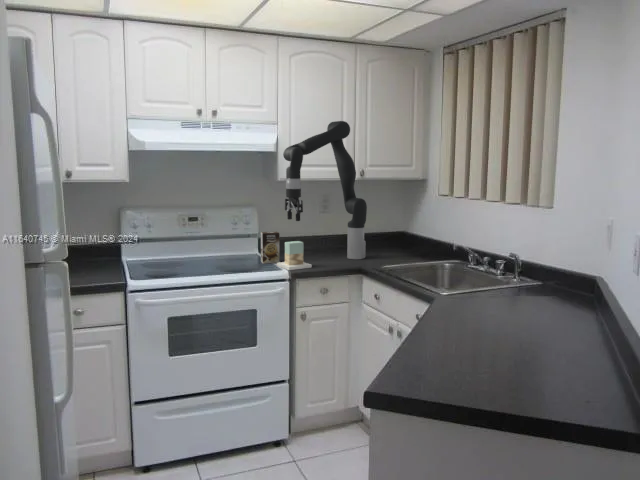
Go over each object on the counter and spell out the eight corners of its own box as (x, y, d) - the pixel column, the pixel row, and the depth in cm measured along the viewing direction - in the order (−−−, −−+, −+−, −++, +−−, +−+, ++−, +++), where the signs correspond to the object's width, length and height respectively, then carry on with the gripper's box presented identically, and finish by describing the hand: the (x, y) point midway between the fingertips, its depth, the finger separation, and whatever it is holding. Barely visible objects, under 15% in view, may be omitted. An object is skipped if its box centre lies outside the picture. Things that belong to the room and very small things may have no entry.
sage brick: (298, 251, 272) (298, 241, 271) (303, 253, 268) (303, 242, 267) (284, 252, 268) (284, 242, 267) (289, 254, 264) (289, 243, 263)
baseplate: (298, 263, 278) (298, 260, 278) (311, 267, 267) (311, 264, 267) (276, 265, 271) (276, 262, 271) (288, 270, 260) (288, 267, 260)
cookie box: (262, 264, 275) (262, 233, 273) (260, 261, 282) (260, 231, 279) (279, 263, 278) (279, 232, 275) (277, 260, 284) (277, 231, 282)
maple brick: (298, 262, 273) (298, 251, 272) (303, 263, 269) (303, 253, 268) (284, 263, 269) (284, 252, 268) (289, 265, 265) (289, 254, 264)
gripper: (307, 188, 259) (307, 221, 261) (293, 186, 271) (293, 218, 273) (293, 188, 255) (294, 222, 258) (280, 187, 267) (280, 219, 269)
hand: (293, 220), depth 265 cm, fingers open, 8 cm apart
